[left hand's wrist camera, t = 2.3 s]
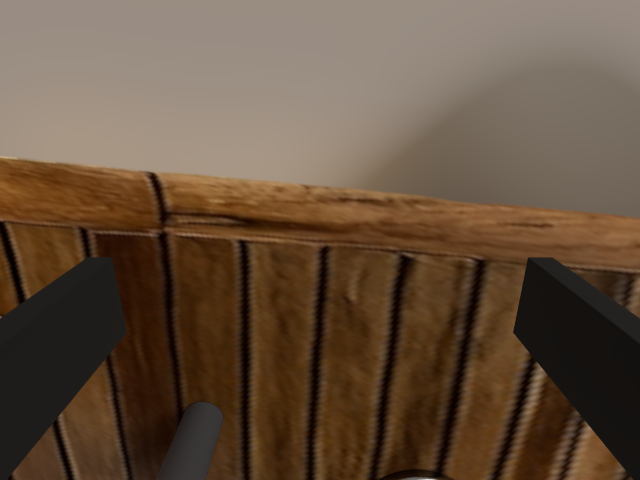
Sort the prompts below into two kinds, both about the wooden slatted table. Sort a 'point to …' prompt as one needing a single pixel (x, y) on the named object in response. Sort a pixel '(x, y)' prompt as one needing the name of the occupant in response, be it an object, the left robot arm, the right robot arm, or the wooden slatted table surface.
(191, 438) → the bottle
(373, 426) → the wooden slatted table surface
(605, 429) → the left robot arm
